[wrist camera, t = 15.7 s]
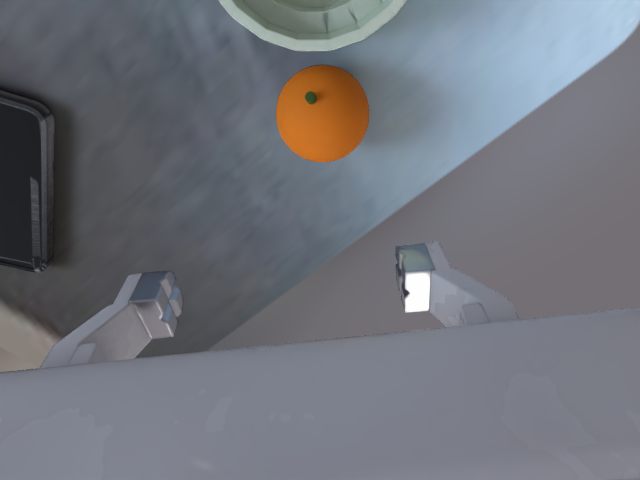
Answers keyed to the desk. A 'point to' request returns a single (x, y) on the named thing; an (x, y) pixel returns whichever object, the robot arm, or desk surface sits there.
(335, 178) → the desk surface
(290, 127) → the orange
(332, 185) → the desk surface
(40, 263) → the phone
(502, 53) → the desk surface
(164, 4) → the desk surface
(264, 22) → the bowl
